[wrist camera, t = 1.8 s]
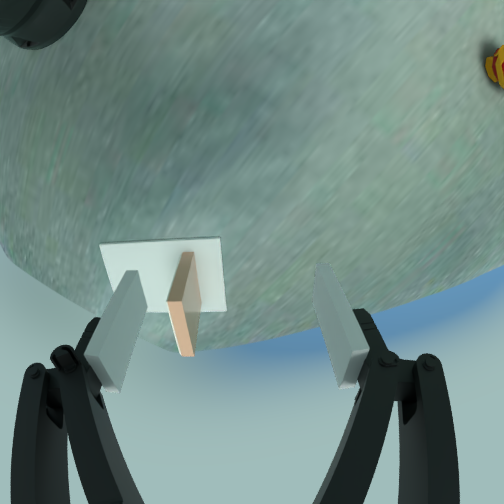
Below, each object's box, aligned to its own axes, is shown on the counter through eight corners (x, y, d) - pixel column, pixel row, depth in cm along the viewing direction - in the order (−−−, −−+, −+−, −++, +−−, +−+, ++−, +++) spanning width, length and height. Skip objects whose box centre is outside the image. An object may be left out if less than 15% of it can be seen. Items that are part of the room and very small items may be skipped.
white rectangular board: (220, 236, 43) (220, 238, 43) (226, 308, 50) (226, 311, 50) (100, 243, 43) (99, 244, 42) (121, 309, 50) (120, 311, 49)
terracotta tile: (194, 251, 44) (181, 301, 33) (201, 303, 49) (194, 356, 38) (181, 252, 44) (165, 301, 33) (189, 303, 49) (180, 356, 38)
